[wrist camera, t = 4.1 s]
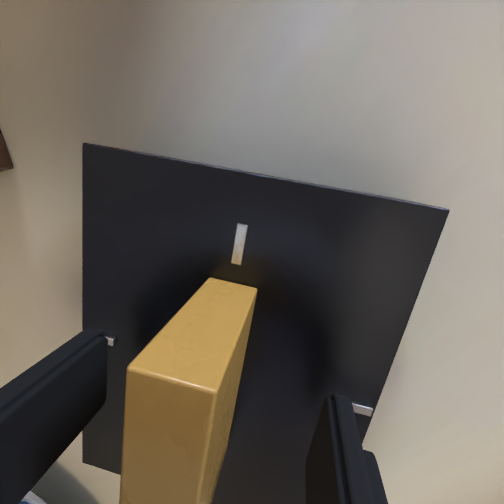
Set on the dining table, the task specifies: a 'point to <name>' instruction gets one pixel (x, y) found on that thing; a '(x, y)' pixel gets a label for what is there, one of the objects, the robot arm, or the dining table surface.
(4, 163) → the button block
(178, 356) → the tap lever
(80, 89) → the dining table surface
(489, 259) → the dining table surface
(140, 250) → the plate
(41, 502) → the ceramic plate
